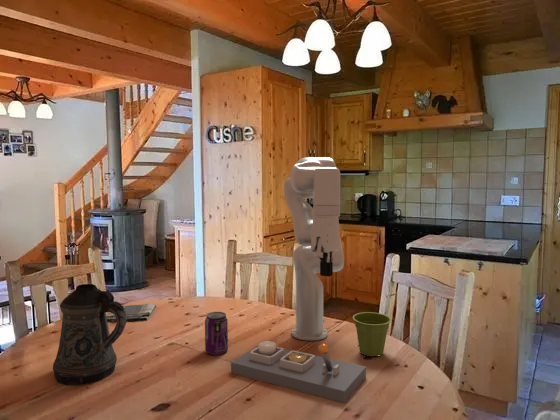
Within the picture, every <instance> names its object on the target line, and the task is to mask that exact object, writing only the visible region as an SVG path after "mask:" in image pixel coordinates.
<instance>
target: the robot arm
mask: <svg viewBox="0 0 560 420" xmlns="http://www.w3.org/2000/svg"><path fill="white" fill-rule="evenodd" d="M340 170H341V169H339V168H338V167H337V164H336V162H335V160H334V159H333V158H332V157H326V156H323V157H322V156H321V157H320V156H319V157H316V156H315V157H314V156H307V157H303V158H300V159H299V160H297V161H296V163H295V164H294V165H293V166H292V168H291V170H290V173H289V177H288V178H286V179H285V181H284V183H283V193H284V198H285V199H284V200H285V201H286V205H287V207H288V210H289V211H290V213H291V217H292V224H293V232H294V238H295V241H296V243H297V244H298V247H296V248H295V249H294V251H293V254H292V255H293V257H292V259H293V267H294V275H295V327H294V328H292V329H291V336H292V337H293V338H295V339H297V340H302V341H309V342H310V341H311V342H312V341H320V340H324V339H325V338H327V337H328V334H329V333H328V330H327V329H326V328H325V327H324V323H326V322H327V319H326V318H325V316H324V284H323V282H322V280H321V279H320V278H319V276H318V275H317V273H318V274H320V276H321V277H328V278H330V277H331V276H333V273H337V272H340V271H342V270H343V268H344V265H345V255H344V249H343V245H342V240H341V235H340V222H339V217H341V171H340ZM304 199H312V201H313V202H312V205H313V206H311V204H310V203H309V202H307V201H306V200H304Z"/></svg>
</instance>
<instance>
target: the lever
mask: <svg viewBox="0 0 560 420" xmlns="http://www.w3.org/2000/svg"><path fill="white" fill-rule="evenodd" d="M317 350H318V352H319V354H321V357H323V359H324V362H325V365H326V368H327V371H328V372H331V371H332V370H333V367H332V364H331V361H330V359H331V358H330V355H329V346H328V345H327V344H326V343H321V344H320V345H318V348H317Z"/></svg>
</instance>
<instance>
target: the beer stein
mask: <svg viewBox="0 0 560 420" xmlns="http://www.w3.org/2000/svg"><path fill="white" fill-rule="evenodd" d="M123 306H124V305H122V304H121V302H119V301H116V300H115V297H114V294H113V293H112V292H110V291H107V290H106V291H105V290H101V289H99V288H98V287H97V286H96V284H93V283H86V284H85V283H83V284H79V285H76V287H75V289H74V291H72V292H70V294H68V295H67V296H66V297H65V298H63V300H62V301H61V302H60V304H59V308H60V311H61V312H62V319H61V320H62V322H61V329H60V330H61V331H60V336H59V338H60V339H59V344H58V349H57V354H56V356H55V359H54V360H53V361H54V362H53V364H52V370H53V373H54V378H55V380H56V382H57V383H59V384H62V385H65V386H82V385H88V384H89V385H90V384H94V383H95V382H99V381H102V380H104V379H105V378H108V377H109V376H111V375H112V374H113V373H114V372H115V370H116V365H117V359H118V358H117V354H116V352H115V349H114V348H113V344H114V343H116V341H117V340H118V339H119V337H121V335H122V334H123V332H124V330H125V327H126V324H127V322H126V319H127V317H126V312H125V310H124V307H123ZM110 312H111V313H113V314H114V315H115V317H116V320H117V322H115V323H116V324H115V326H114V329H113V330H112V332H111V333H110V330H109V322H107V317H106V316H107V313H110Z"/></svg>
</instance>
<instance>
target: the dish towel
mask: <svg viewBox="0 0 560 420" xmlns="http://www.w3.org/2000/svg"><path fill="white" fill-rule="evenodd" d="M122 306H123V307H124V310H125V312H126V317H127V319H126V323H128V322H140V321H141V322H144V321H145V322H147V321H148V320H149V319H150V317H151V316H152V315H153V313H154V312H155V309H156V308H157V304H155V303H146V304H145V303H144V304H131V305H130V304H129V305H122ZM106 317H107V322H108V323H117V320H116V317H115V315H114V314H113V313H111V312H108V313H107V314H106Z"/></svg>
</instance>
